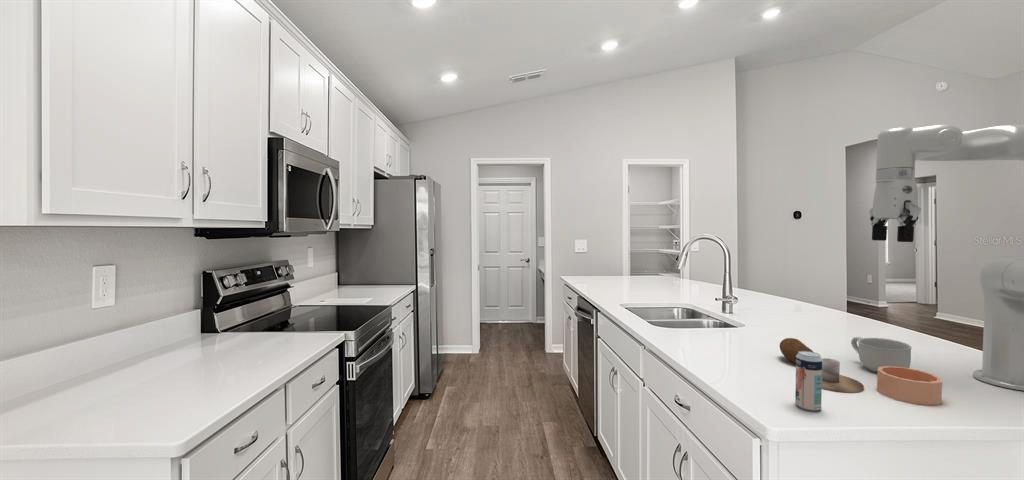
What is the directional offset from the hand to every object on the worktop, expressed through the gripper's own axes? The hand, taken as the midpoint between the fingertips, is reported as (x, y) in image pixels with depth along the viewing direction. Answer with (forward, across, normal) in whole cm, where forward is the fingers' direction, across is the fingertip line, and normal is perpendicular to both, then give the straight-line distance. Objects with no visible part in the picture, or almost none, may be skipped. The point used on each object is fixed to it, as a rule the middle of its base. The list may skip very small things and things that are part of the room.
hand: (891, 241), depth 108 cm
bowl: (+36, -15, +4) cm, 39 cm away
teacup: (+36, +4, -1) cm, 36 cm away
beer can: (+36, -27, +30) cm, 54 cm away
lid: (+36, -10, +18) cm, 42 cm away
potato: (+36, +6, +19) cm, 42 cm away
